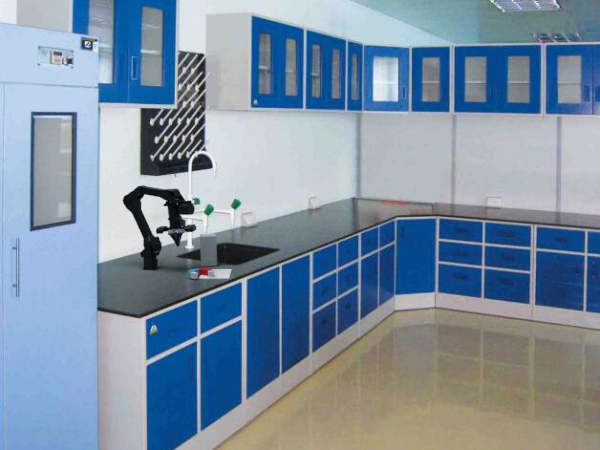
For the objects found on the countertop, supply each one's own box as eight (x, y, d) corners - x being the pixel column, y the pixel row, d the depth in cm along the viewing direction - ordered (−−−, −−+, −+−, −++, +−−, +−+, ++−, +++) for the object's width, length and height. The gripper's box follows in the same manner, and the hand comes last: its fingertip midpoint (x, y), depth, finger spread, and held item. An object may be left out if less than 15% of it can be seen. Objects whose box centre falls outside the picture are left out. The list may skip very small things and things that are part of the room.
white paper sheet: (199, 279, 360) (199, 278, 360) (203, 269, 379) (203, 268, 379) (229, 279, 360) (229, 278, 360) (231, 270, 380) (231, 269, 380)
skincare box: (216, 263, 395) (216, 233, 393) (217, 266, 388) (217, 235, 386) (200, 263, 394) (199, 233, 392) (200, 266, 387) (200, 235, 385)
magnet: (185, 275, 365) (192, 279, 356) (185, 269, 365) (192, 273, 356) (208, 272, 370) (215, 277, 362) (208, 267, 370) (215, 271, 361)
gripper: (198, 211, 377) (201, 242, 379) (162, 213, 381) (166, 243, 383) (190, 214, 366) (194, 246, 369) (153, 217, 370) (157, 248, 373)
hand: (178, 246), depth 374 cm, fingers closed
